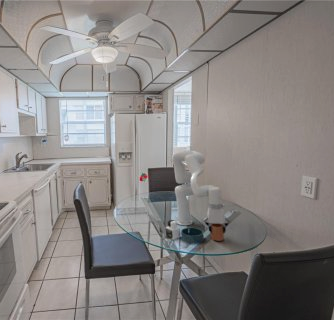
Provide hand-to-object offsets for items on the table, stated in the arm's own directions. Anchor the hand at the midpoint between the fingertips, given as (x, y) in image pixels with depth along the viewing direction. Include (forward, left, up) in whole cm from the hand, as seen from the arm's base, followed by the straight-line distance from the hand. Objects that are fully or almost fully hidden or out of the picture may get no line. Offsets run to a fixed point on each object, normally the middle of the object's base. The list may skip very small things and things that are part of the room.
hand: (217, 232), depth 140 cm
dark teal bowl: (-12, -10, -6) cm, 17 cm away
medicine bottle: (-23, -17, -6) cm, 29 cm away
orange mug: (-1, +1, -4) cm, 5 cm away
